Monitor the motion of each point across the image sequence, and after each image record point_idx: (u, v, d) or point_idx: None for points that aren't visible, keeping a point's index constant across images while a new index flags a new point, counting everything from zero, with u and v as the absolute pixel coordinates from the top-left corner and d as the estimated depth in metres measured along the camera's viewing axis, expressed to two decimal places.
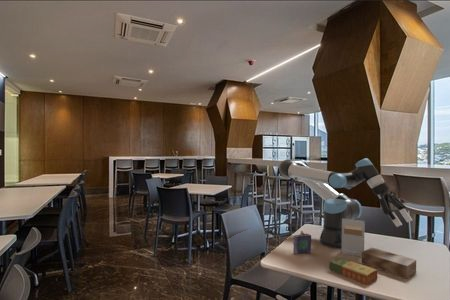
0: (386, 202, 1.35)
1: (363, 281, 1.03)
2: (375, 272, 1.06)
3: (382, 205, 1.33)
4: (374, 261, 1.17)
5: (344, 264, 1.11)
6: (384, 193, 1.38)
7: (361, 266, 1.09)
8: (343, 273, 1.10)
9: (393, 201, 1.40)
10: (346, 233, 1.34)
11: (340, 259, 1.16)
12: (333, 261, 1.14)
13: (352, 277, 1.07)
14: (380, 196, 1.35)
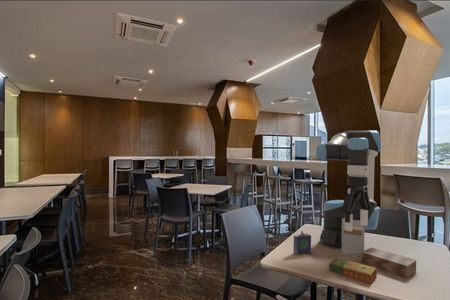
0: (352, 200, 1.08)
1: (366, 281, 1.04)
2: (375, 270, 1.07)
3: (345, 202, 1.06)
4: (374, 261, 1.17)
5: (345, 264, 1.11)
6: (357, 188, 1.09)
7: (361, 265, 1.10)
8: (345, 274, 1.09)
9: (361, 199, 1.13)
10: (346, 233, 1.34)
11: (339, 260, 1.15)
12: (333, 262, 1.13)
13: (355, 277, 1.06)
14: (350, 191, 1.06)
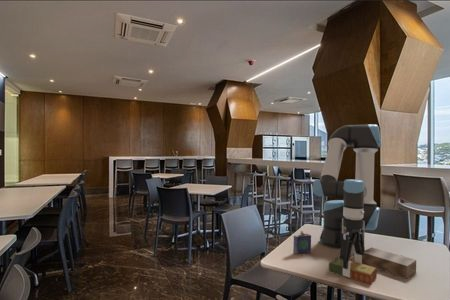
0: None
1: (366, 281, 1.04)
2: (375, 270, 1.07)
3: (342, 249, 1.07)
4: (374, 261, 1.17)
5: None
6: (352, 231, 1.08)
7: (361, 265, 1.10)
8: None
9: (356, 241, 1.12)
10: None
11: (339, 260, 1.15)
12: (333, 262, 1.13)
13: (354, 277, 1.06)
14: (345, 238, 1.06)
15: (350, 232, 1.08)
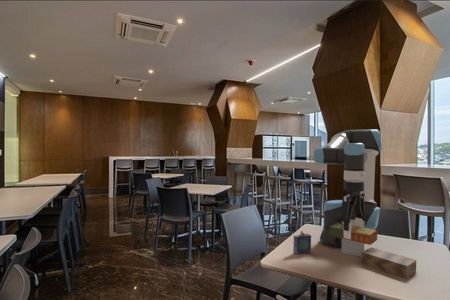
0: (349, 207, 1.08)
1: (365, 241, 1.04)
2: (375, 232, 1.07)
3: (342, 211, 1.07)
4: (374, 261, 1.17)
5: None
6: (353, 193, 1.08)
7: (361, 228, 1.10)
8: None
9: (357, 205, 1.12)
10: None
11: (339, 224, 1.16)
12: (333, 226, 1.14)
13: (354, 239, 1.07)
14: (346, 200, 1.06)
15: (351, 194, 1.08)
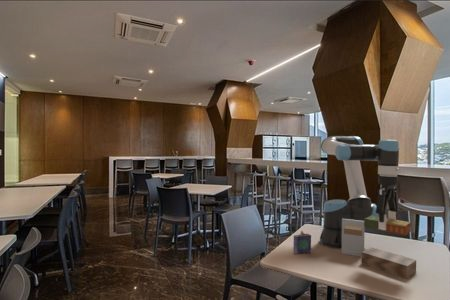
0: None
1: (401, 232, 1.10)
2: (410, 224, 1.14)
3: (378, 203, 1.14)
4: (374, 261, 1.17)
5: None
6: (388, 187, 1.15)
7: (395, 220, 1.16)
8: None
9: (390, 198, 1.19)
10: (346, 233, 1.34)
11: (373, 217, 1.22)
12: (368, 218, 1.20)
13: (389, 230, 1.13)
14: (381, 193, 1.13)
15: (386, 188, 1.15)
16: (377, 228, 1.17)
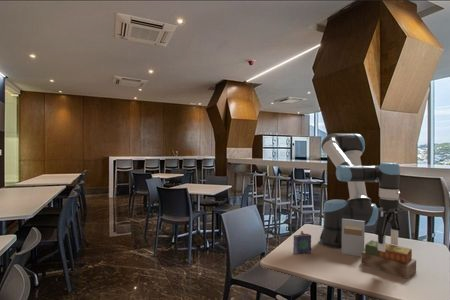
0: (384, 222, 1.15)
1: (402, 260, 1.11)
2: (410, 251, 1.14)
3: (378, 224, 1.13)
4: (374, 261, 1.17)
5: None
6: (389, 211, 1.16)
7: (396, 247, 1.17)
8: (381, 254, 1.16)
9: (392, 220, 1.20)
10: (346, 233, 1.34)
11: (374, 242, 1.23)
12: (369, 244, 1.21)
13: (390, 257, 1.14)
14: (383, 214, 1.13)
15: (387, 211, 1.15)
16: (378, 255, 1.17)
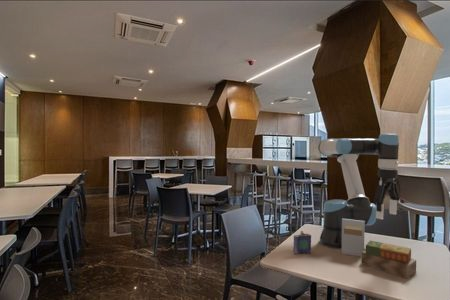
0: (383, 191, 1.18)
1: (403, 260, 1.11)
2: (410, 251, 1.15)
3: (377, 193, 1.16)
4: (374, 261, 1.17)
5: (381, 246, 1.18)
6: (388, 180, 1.18)
7: (396, 246, 1.17)
8: (381, 254, 1.16)
9: (391, 190, 1.22)
10: (346, 233, 1.34)
11: (373, 242, 1.22)
12: (369, 244, 1.20)
13: (391, 257, 1.13)
14: (381, 183, 1.16)
15: (386, 180, 1.18)
16: (379, 255, 1.16)
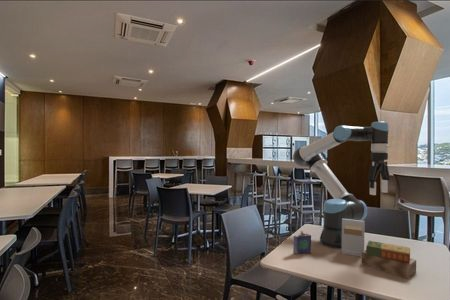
0: None
1: (404, 260, 1.11)
2: (409, 250, 1.15)
3: (370, 172, 1.34)
4: (374, 261, 1.17)
5: (381, 246, 1.18)
6: (379, 162, 1.37)
7: (396, 246, 1.18)
8: (382, 255, 1.16)
9: (382, 171, 1.41)
10: (346, 233, 1.34)
11: (373, 243, 1.22)
12: (369, 245, 1.19)
13: (393, 257, 1.13)
14: (374, 164, 1.34)
15: (378, 162, 1.36)
16: (380, 255, 1.16)
